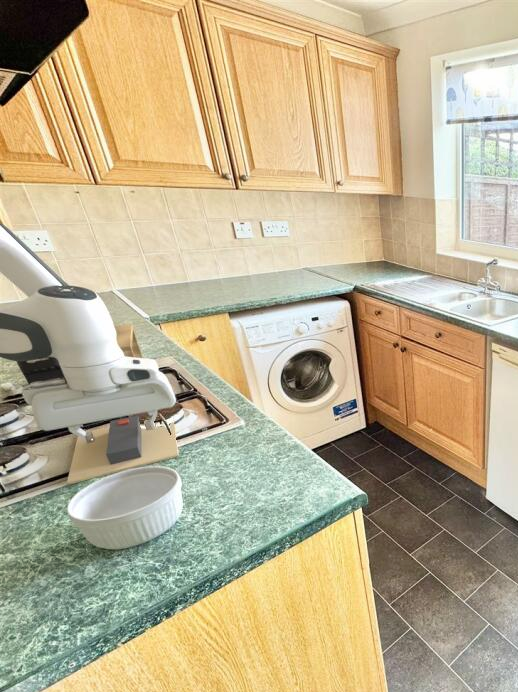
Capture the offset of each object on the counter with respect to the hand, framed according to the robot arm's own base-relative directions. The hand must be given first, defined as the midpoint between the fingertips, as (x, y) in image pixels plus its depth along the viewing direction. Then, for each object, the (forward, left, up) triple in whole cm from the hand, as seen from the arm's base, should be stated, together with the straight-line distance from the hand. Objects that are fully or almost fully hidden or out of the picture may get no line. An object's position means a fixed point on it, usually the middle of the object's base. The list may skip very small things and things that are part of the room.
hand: (121, 435), depth 85 cm
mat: (0, 0, -3) cm, 3 cm away
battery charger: (-15, +41, -3) cm, 44 cm away
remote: (0, 0, -2) cm, 2 cm away
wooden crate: (-3, +40, -3) cm, 40 cm away
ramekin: (+2, -29, -3) cm, 29 cm away
